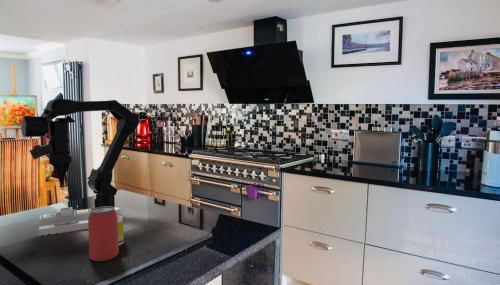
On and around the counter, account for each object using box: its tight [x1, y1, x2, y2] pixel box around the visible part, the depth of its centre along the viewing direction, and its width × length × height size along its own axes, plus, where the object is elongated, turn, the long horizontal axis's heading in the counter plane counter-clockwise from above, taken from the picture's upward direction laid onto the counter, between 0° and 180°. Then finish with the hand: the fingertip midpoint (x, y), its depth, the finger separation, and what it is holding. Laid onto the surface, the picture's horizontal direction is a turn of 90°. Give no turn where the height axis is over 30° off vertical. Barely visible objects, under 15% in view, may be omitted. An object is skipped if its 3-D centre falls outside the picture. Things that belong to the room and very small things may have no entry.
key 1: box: [43, 212, 57, 219], centre depth 104 cm, size 3×3×2 cm
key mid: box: [59, 206, 73, 216], centre depth 106 cm, size 3×3×2 cm
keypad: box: [38, 208, 91, 237], centre depth 106 cm, size 14×14×4 cm
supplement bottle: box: [114, 206, 125, 247], centre depth 90 cm, size 5×5×10 cm
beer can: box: [87, 206, 120, 262], centre depth 81 cm, size 7×7×12 cm
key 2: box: [75, 208, 89, 214], centre depth 109 cm, size 3×3×2 cm
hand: (61, 181), depth 113 cm, fingers closed
